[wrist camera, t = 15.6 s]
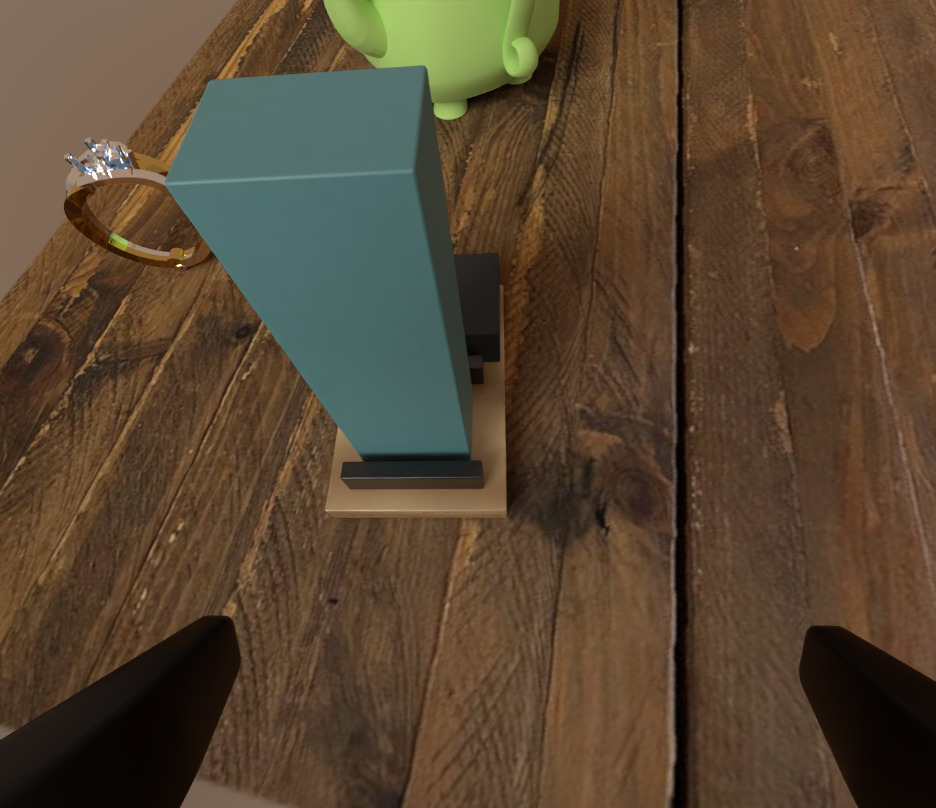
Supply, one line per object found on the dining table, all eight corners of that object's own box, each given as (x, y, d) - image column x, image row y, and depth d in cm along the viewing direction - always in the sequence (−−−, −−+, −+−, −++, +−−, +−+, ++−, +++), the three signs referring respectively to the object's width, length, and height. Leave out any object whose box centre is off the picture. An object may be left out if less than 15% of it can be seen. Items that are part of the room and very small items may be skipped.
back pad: (471, 461, 23) (415, 170, 9) (362, 462, 23) (161, 183, 10) (473, 393, 24) (426, 63, 11) (371, 395, 25) (209, 78, 11)
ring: (242, 242, 32) (166, 122, 25) (232, 281, 30) (148, 165, 23) (137, 250, 32) (34, 134, 25) (122, 289, 31) (7, 176, 24)
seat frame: (507, 518, 22) (506, 493, 19) (333, 518, 23) (304, 494, 20) (503, 298, 28) (502, 252, 25) (364, 303, 29) (346, 258, 26)
